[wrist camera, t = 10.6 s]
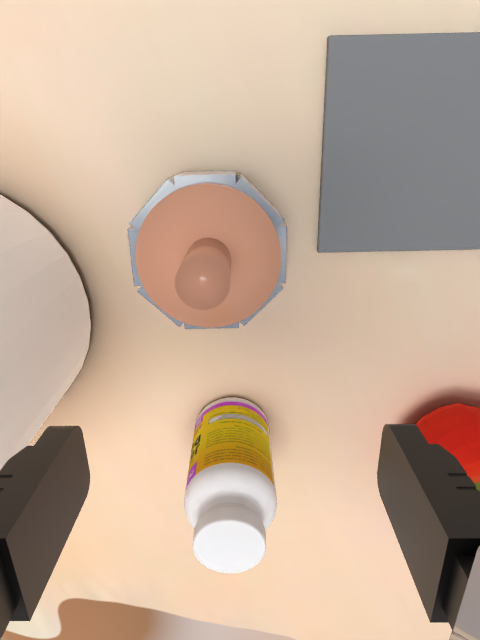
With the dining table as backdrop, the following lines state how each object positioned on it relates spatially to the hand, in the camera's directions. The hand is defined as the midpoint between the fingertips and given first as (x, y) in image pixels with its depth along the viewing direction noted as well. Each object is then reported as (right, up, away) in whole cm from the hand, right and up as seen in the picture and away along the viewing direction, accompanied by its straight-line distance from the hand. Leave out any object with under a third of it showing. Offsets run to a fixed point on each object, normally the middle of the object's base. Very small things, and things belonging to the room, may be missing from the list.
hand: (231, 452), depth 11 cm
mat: (+13, +16, +19) cm, 28 cm away
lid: (-2, +8, +16) cm, 18 cm away
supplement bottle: (-1, -6, +28) cm, 28 cm away
